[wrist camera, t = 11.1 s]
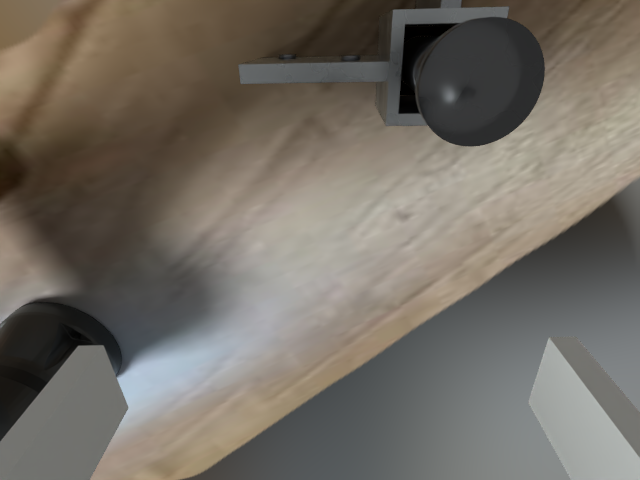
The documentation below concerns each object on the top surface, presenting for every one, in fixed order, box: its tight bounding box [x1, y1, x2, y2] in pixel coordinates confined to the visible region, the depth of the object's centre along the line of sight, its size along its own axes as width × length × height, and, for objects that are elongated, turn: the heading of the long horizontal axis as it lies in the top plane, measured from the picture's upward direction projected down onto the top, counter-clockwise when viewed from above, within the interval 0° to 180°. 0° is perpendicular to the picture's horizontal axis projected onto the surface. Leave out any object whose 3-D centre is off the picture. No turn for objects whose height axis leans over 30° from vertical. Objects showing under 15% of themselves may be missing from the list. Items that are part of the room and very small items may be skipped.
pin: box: [401, 17, 545, 146], centre depth 25 cm, size 6×6×17 cm
